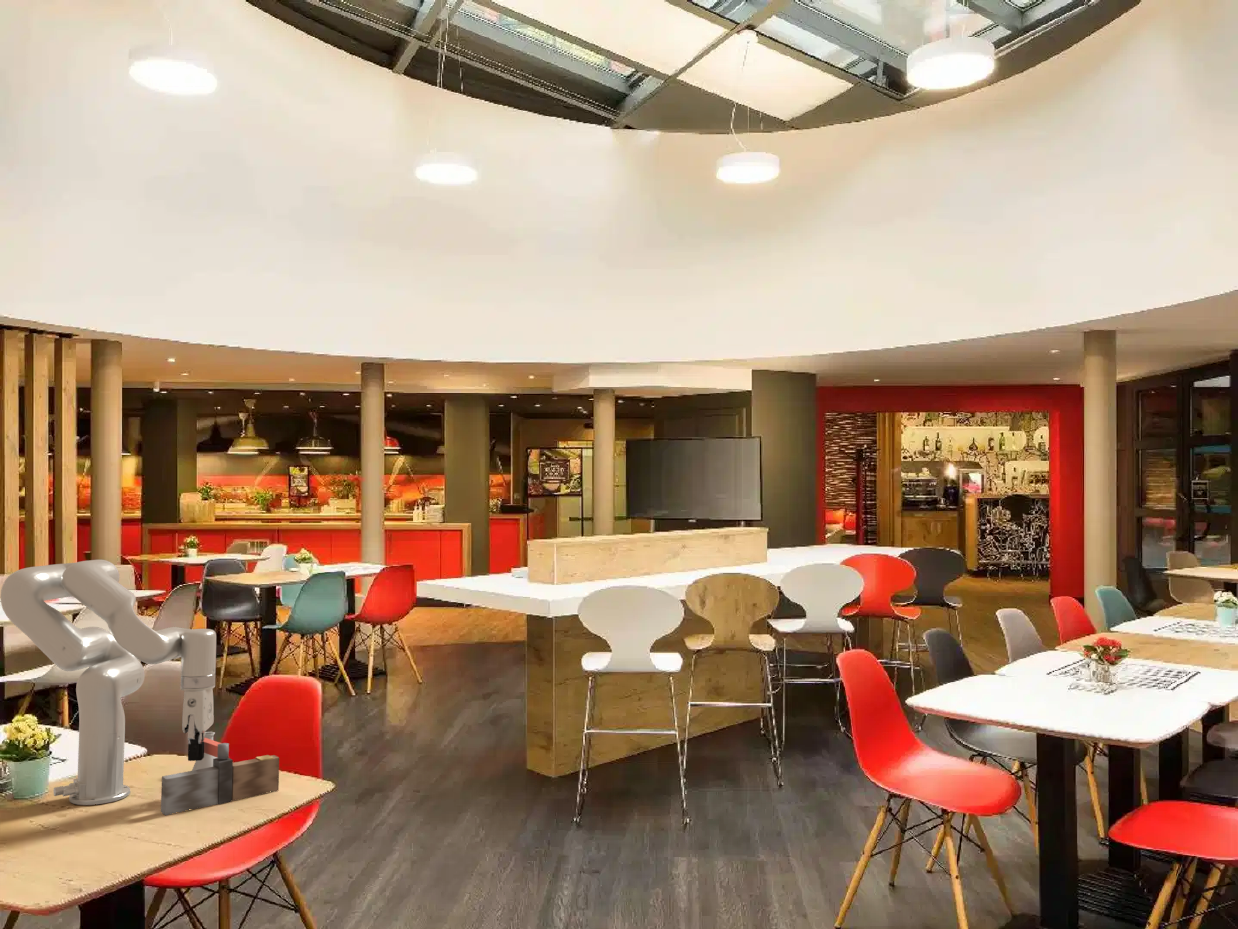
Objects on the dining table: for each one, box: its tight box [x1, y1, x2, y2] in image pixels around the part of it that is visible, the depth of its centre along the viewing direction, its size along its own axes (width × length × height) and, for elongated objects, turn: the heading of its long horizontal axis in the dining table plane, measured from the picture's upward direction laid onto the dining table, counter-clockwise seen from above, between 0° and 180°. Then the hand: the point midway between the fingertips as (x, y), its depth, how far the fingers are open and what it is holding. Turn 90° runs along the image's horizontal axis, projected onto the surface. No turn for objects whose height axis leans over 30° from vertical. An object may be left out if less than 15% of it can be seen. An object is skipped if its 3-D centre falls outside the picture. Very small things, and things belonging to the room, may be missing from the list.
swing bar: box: [202, 738, 230, 760], centre depth 218 cm, size 12×2×3 cm, turn 51°
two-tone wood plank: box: [160, 754, 280, 817], centre depth 215 cm, size 26×4×10 cm, turn 134°
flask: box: [191, 731, 217, 771], centre depth 238 cm, size 7×7×10 cm
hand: (195, 759), depth 217 cm, fingers closed
